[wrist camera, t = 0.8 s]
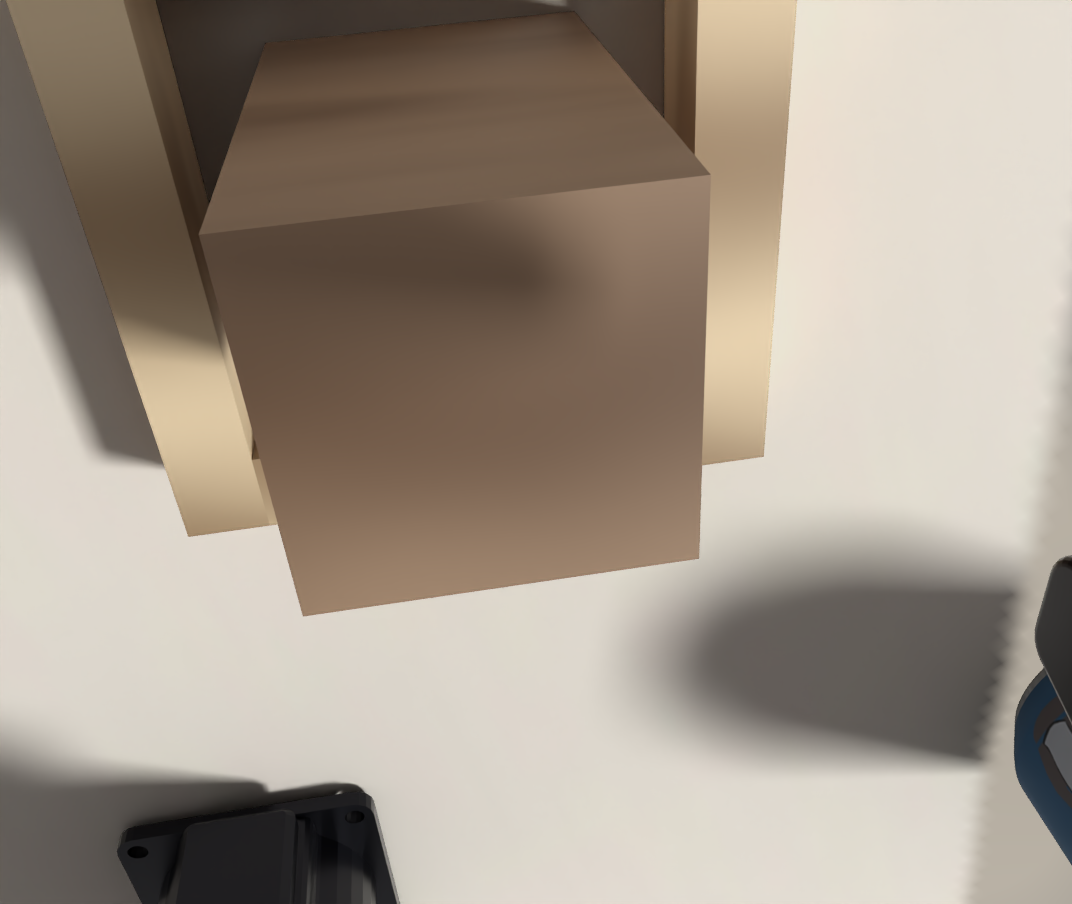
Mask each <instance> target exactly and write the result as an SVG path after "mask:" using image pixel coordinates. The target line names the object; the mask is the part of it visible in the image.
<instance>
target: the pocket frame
mask: <svg viewBox="0 0 1072 904" xmlns="http://www.w3.org/2000/svg"><path fill="white" fill-rule="evenodd" d="M6 3H7V6H8V9H9V11H10V14H11V17H12V20H13V23H14V26H15V29H16V32H17V35H18V38H19V41H20V44H21V47H22V50H23V53H24V56H25V58H26V61H27V64H28V67H29V70H30V73H31V76H32V79H33V82H34V85H35V88H36V91H37V94H38V97H39V100H40V102H41V105H42V108H43V111H44V114H45V117H46V120H47V123H48V126H49V129H50V132H51V135H52V138H53V141H54V144H55V147H56V149H57V152H58V155H59V158H60V161H61V164H62V167H63V170H64V173H65V176H66V179H67V182H68V185H69V188H70V191H71V193H72V196H73V199H74V202H75V205H76V208H77V211H78V214H79V217H80V220H81V223H82V226H83V229H84V232H85V235H86V237H87V240H88V243H89V246H90V249H91V252H92V255H93V258H94V261H95V264H96V267H97V270H98V273H99V276H100V279H101V282H102V284H103V287H104V290H105V293H106V296H107V299H108V302H109V305H110V308H111V311H112V314H113V317H114V320H115V323H116V326H117V328H118V331H119V334H120V337H121V340H122V343H123V346H124V349H125V352H126V355H127V358H128V361H129V364H130V367H131V370H132V372H133V375H134V378H135V381H136V384H137V387H138V390H139V393H140V396H141V399H142V402H143V405H144V408H145V411H146V414H147V417H148V419H149V422H150V425H151V428H152V431H153V434H154V437H155V440H156V443H157V446H158V449H159V452H160V455H161V458H162V461H163V463H164V466H165V469H166V472H167V475H168V478H169V481H170V484H171V487H172V490H173V493H174V496H175V499H176V502H177V505H178V507H179V510H180V513H181V516H182V519H183V522H184V525H185V528H186V531H187V534H188V537H190V536H198V535H205V534H212V533H219V532H226V531H233V530H241V529H248V528H255V527H262V526H269V525H276V524H278V523H277V519H276V516H275V512H274V508H273V505H272V501H271V497H270V494H269V490H268V486H267V483H266V479H265V475H264V472H263V468H262V464H261V461H260V457H259V453H258V450H257V446H256V442H255V439H254V435H253V431H252V428H251V424H250V420H249V417H248V413H247V410H246V406H245V402H244V399H243V395H242V391H241V388H240V384H239V380H238V377H237V373H236V369H235V366H234V362H233V358H232V355H231V351H230V347H229V344H228V340H227V336H226V333H225V329H224V325H223V322H222V318H221V314H220V311H219V307H218V304H217V300H216V296H215V293H214V289H213V285H212V282H211V278H210V274H209V271H208V267H207V263H206V260H205V256H204V252H203V249H202V245H201V241H200V238H199V232H200V229H201V227H202V224H203V221H204V218H205V215H206V212H207V209H208V206H209V202H208V198H207V195H206V191H205V187H204V183H203V179H202V176H201V172H200V168H199V164H198V160H197V157H196V153H195V149H194V145H193V141H192V138H191V134H190V130H189V126H188V122H187V118H186V115H185V111H184V107H183V103H182V99H181V96H180V92H179V88H178V84H177V80H176V77H175V73H174V69H173V65H172V61H171V57H170V54H169V50H168V46H167V42H166V38H165V35H164V31H163V27H162V23H161V19H160V16H159V12H158V8H157V4H156V0H6ZM796 7H797V0H665V34H664V119H665V120H666V122H667V123H668V124H669V125H670V126H671V128H672V129H673V130H674V131H675V132H676V134H677V135H678V136H679V137H680V138H681V140H682V141H683V142H684V143H685V144H686V146H687V147H688V148H689V149H690V150H691V151H692V153H693V154H694V155H695V156H696V157H697V159H698V160H699V161H700V162H701V163H702V165H703V166H704V167H705V168H706V169H707V171H708V172H709V173H710V174H711V191H710V223H709V255H708V287H707V319H706V351H705V382H704V414H703V446H702V465H707V464H714V463H722V462H729V461H736V460H743V459H750V458H757V457H764V444H765V430H766V416H767V403H768V389H769V376H770V362H771V348H772V335H773V321H774V307H775V294H776V280H777V266H778V253H779V239H780V226H781V212H782V198H783V185H784V171H785V157H786V144H787V130H788V116H789V103H790V89H791V76H792V62H793V48H794V35H795V21H796Z"/></svg>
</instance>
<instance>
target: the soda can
mask: <svg viewBox="0 0 1072 904" xmlns="http://www.w3.org/2000/svg"><path fill="white" fill-rule="evenodd" d="M1014 760H1015V769H1016V774H1017V778H1018V780H1019V783H1020V785H1021V787H1022V789H1023V790H1024V792H1025V793H1026V795H1027V796H1028V798H1029V799H1030V801H1031V803H1032V804H1033V806H1034V807H1035V809H1036V811H1037V812H1038V813H1039V815H1040V817H1041V818H1042V820H1043V821H1044V823H1045V824H1046V826H1047V828H1048V829H1049V830H1050V832H1051V834H1052V835H1053V836H1054V838H1055V840H1056V842H1057V843H1058V845H1059V846H1060V848H1061V849H1062V851H1063V852H1064V854H1065V856H1066V857H1067V858H1068V860H1069V862H1070V863H1071V865H1072V724H1071V722H1070V720H1069V718H1068V716H1067V714H1066V712H1065V710H1064V707H1063V705H1062V703H1061V701H1060V699H1059V697H1058V695H1057V693H1056V691H1055V689H1054V687H1053V685H1052V683H1051V681H1050V679H1049V677H1048V674H1047V672H1046V670H1045V668H1043V670H1042V671H1041V672H1040V673H1039V674H1038V675H1037V676H1036V677H1035V678H1034V679H1033V681H1032V682H1031V683H1030V684H1029V686H1028V687H1027V689H1026V690H1025V692H1024V694H1023V695H1022V697H1021V700H1020V701H1019V704H1018V707H1017V710H1016V716H1015V737H1014Z"/></svg>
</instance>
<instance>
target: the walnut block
mask: <svg viewBox="0 0 1072 904" xmlns="http://www.w3.org/2000/svg"><path fill="white" fill-rule="evenodd" d="M710 191H711V174H710V173H709V172H708V171H707V169H706V168H705V167H704V166H703V165H702V163H701V162H700V161H699V160H698V159H697V157H696V156H695V155H694V154H693V153H692V151H691V150H690V149H689V148H688V147H687V146H686V144H685V143H684V142H683V141H682V140H681V138H680V137H679V136H678V135H677V134H676V132H675V131H674V130H673V129H672V128H671V126H670V125H669V124H668V123H667V122H666V120H665V119H664V118H663V117H662V116H661V114H660V113H659V112H658V111H657V110H656V108H655V107H654V106H653V105H652V104H651V102H650V101H649V100H648V99H647V98H646V97H645V95H644V94H643V93H642V92H641V91H640V89H639V88H638V87H637V86H636V85H635V83H634V82H633V81H632V80H631V79H630V77H629V76H628V75H627V74H626V73H625V71H624V70H623V69H622V68H621V67H620V65H619V64H618V63H617V62H616V61H615V59H614V58H613V57H612V56H611V55H610V53H609V52H608V51H607V50H606V49H605V48H604V46H603V45H602V44H601V43H600V42H599V40H598V39H597V38H596V37H595V36H594V34H593V33H592V32H591V31H590V30H589V28H588V27H587V26H586V25H585V24H584V22H583V21H582V20H581V19H580V18H579V16H578V15H577V14H576V13H575V12H574V11H570V12H561V13H551V14H541V15H531V16H522V17H512V18H502V19H493V20H483V21H473V22H464V23H454V24H444V25H435V26H425V27H415V28H406V29H396V30H386V31H377V32H367V33H357V34H348V35H338V36H328V37H318V38H309V39H299V40H289V41H280V42H270V43H265V46H264V48H263V51H262V54H261V57H260V60H259V63H258V66H257V69H256V71H255V74H254V77H253V80H252V83H251V86H250V89H249V92H248V94H247V97H246V100H245V103H244V106H243V109H242V112H241V115H240V117H239V120H238V123H237V126H236V129H235V132H234V135H233V137H232V140H231V143H230V146H229V149H228V152H227V155H226V158H225V160H224V163H223V166H222V169H221V172H220V175H219V178H218V181H217V183H216V186H215V189H214V192H213V195H212V198H211V201H210V204H209V206H208V209H207V212H206V215H205V218H204V221H203V224H202V227H201V229H200V232H199V238H200V241H201V245H202V249H203V252H204V256H205V260H206V263H207V267H208V271H209V274H210V278H211V282H212V285H213V289H214V293H215V296H216V300H217V304H218V307H219V311H220V314H221V318H222V322H223V325H224V329H225V333H226V336H227V340H228V344H229V347H230V351H231V355H232V358H233V362H234V366H235V369H236V373H237V377H238V380H239V384H240V388H241V391H242V395H243V399H244V402H245V406H246V410H247V413H248V417H249V420H250V424H251V428H252V431H253V435H254V439H255V442H256V446H257V450H258V453H259V457H260V461H261V464H262V468H263V472H264V475H265V479H266V483H267V486H268V490H269V494H270V497H271V501H272V505H273V508H274V512H275V516H276V519H277V523H278V526H279V530H280V534H281V537H282V541H283V545H284V548H285V552H286V556H287V559H288V563H289V567H290V570H291V574H292V578H293V581H294V585H295V589H296V592H297V596H298V600H299V603H300V607H301V611H302V614H303V616H309V615H316V614H323V613H330V612H336V611H343V610H350V609H357V608H364V607H371V606H378V605H384V604H391V603H398V602H405V601H412V600H419V599H425V598H432V597H439V596H446V595H453V594H460V593H467V592H473V591H480V590H487V589H494V588H501V587H508V586H514V585H521V584H528V583H535V582H542V581H549V580H556V579H562V578H569V577H576V576H583V575H590V574H597V573H604V572H610V571H617V570H624V569H631V568H638V567H645V566H651V565H658V564H665V563H672V562H679V561H686V560H693V559H699V542H700V510H701V478H702V446H703V414H704V382H705V351H706V319H707V287H708V255H709V223H710Z"/></svg>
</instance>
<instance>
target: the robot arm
mask: <svg viewBox="0 0 1072 904" xmlns="http://www.w3.org/2000/svg"><path fill="white" fill-rule="evenodd" d="M1035 643H1036V648H1037V652H1038V655H1039V657H1040V660H1041V662H1042V664H1043V666H1044V668H1045V670H1046V672H1047V674H1048V677H1049V679H1050V681H1051V683H1052V685H1053V687H1054V689H1055V691H1056V693H1057V695H1058V697H1059V699H1060V701H1061V703H1062V705H1063V707H1064V710H1065V712H1066V714H1067V716H1068V718H1069V720H1070V722H1071V724H1072V555H1071V556H1065V557H1063V558H1061V559H1059V560H1058V561H1057V562H1056V564H1055V565H1054V566H1053V568H1052V570H1051V573H1050V577H1049V580H1048V584H1047V587H1046V591H1045V595H1044V598H1043V601H1042V605H1041V608H1040V612H1039V616H1038V619H1037V623H1036V627H1035ZM117 854H118V857H119V859H120V861H121V863H122V865H123V867H124V869H125V871H126V873H127V875H128V877H129V878H130V880H131V882H132V884H133V886H134V888H135V890H136V892H137V894H138V896H139V898H140V900H141V902H142V904H400V902H399V898H398V894H397V890H396V886H395V882H394V878H393V874H392V870H391V866H390V862H389V858H388V855H387V851H386V847H385V843H384V839H383V835H382V831H381V827H380V823H379V819H378V815H377V811H376V807H375V804H374V800H373V799H372V797H371V796H369V795H368V794H366V793H362V792H349V793H343V794H337V795H331V796H324V797H318V798H312V799H306V800H299V801H293V802H287V803H281V804H274V805H268V806H262V807H256V808H249V809H243V810H237V811H231V812H224V813H218V814H212V815H206V816H200V817H193V818H187V819H181V820H175V821H168V822H162V823H156V824H150V825H143V826H137V827H133V828H129V829H127V830H126V831H124V832H123V833H122V835H121V837H120V840H119V845H118V849H117Z"/></svg>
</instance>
